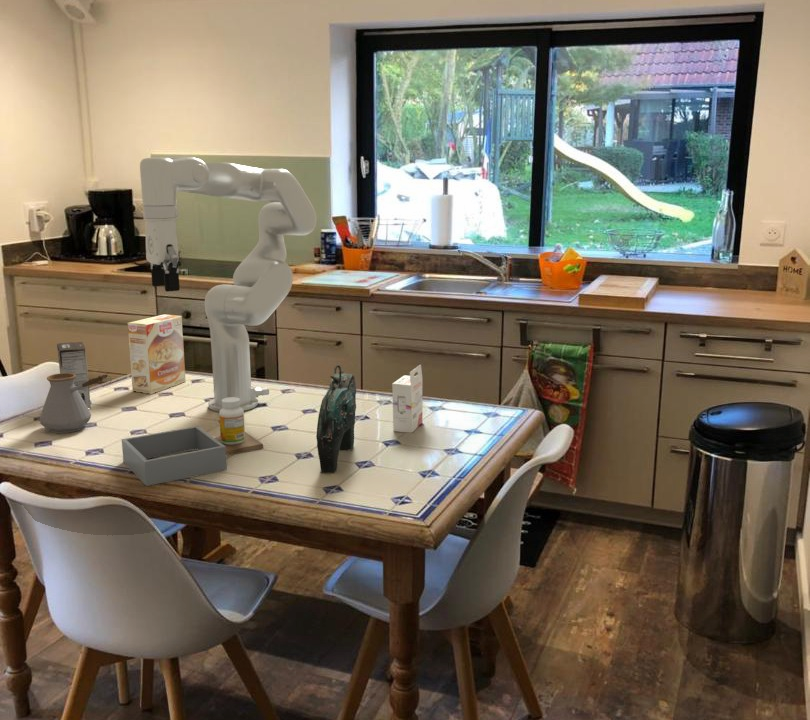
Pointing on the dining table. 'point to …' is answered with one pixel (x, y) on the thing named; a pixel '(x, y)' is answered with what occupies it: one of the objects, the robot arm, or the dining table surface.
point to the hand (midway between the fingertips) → (165, 288)
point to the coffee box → (75, 365)
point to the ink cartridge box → (407, 402)
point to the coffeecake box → (156, 353)
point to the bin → (173, 466)
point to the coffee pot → (66, 404)
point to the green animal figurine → (336, 420)
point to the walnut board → (242, 445)
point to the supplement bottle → (231, 422)
